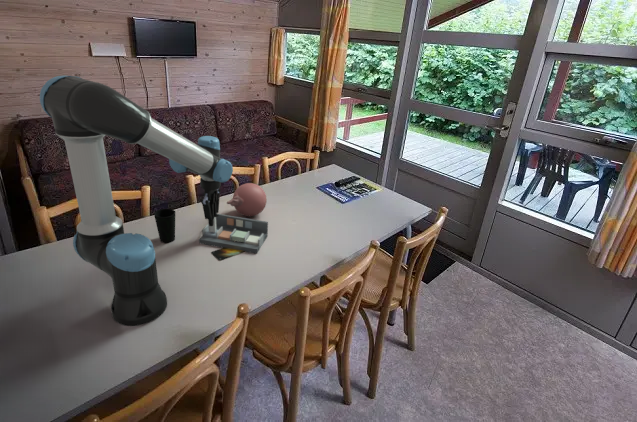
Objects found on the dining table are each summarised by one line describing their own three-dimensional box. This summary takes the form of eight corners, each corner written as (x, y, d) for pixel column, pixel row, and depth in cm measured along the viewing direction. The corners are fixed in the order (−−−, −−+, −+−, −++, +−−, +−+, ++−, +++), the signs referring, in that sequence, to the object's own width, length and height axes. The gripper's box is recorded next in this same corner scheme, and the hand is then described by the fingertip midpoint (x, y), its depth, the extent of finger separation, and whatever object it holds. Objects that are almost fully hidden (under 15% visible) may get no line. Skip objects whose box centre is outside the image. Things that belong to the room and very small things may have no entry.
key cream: (257, 247, 145) (257, 242, 144) (245, 245, 145) (245, 240, 144) (261, 241, 149) (261, 237, 148) (249, 239, 149) (249, 235, 149)
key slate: (216, 240, 147) (215, 235, 146) (204, 238, 147) (204, 233, 146) (220, 234, 151) (220, 230, 150) (209, 232, 151) (209, 228, 150)
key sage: (243, 242, 145) (243, 237, 144) (232, 240, 145) (232, 236, 144) (247, 236, 149) (247, 232, 148) (236, 234, 150) (236, 230, 149)
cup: (170, 246, 141) (168, 218, 136) (153, 242, 143) (149, 215, 137) (181, 236, 148) (179, 210, 143) (164, 233, 149) (161, 207, 144)
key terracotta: (229, 242, 146) (229, 238, 145) (218, 240, 146) (218, 236, 146) (234, 236, 150) (234, 232, 149) (223, 234, 151) (223, 230, 150)
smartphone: (210, 252, 140) (244, 240, 149) (210, 253, 140) (244, 242, 150) (219, 260, 135) (253, 248, 145) (219, 262, 136) (253, 249, 145)
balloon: (217, 214, 168) (216, 184, 161) (253, 204, 181) (254, 175, 174) (235, 228, 158) (235, 196, 151) (272, 216, 171) (273, 186, 164)
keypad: (257, 253, 142) (257, 238, 139) (199, 243, 145) (198, 228, 142) (267, 236, 155) (268, 221, 152) (214, 227, 157) (213, 212, 154)
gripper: (212, 185, 131) (214, 240, 142) (226, 173, 143) (227, 225, 153) (192, 182, 132) (196, 237, 143) (208, 170, 144) (210, 222, 154)
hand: (212, 231), depth 148 cm, fingers closed
